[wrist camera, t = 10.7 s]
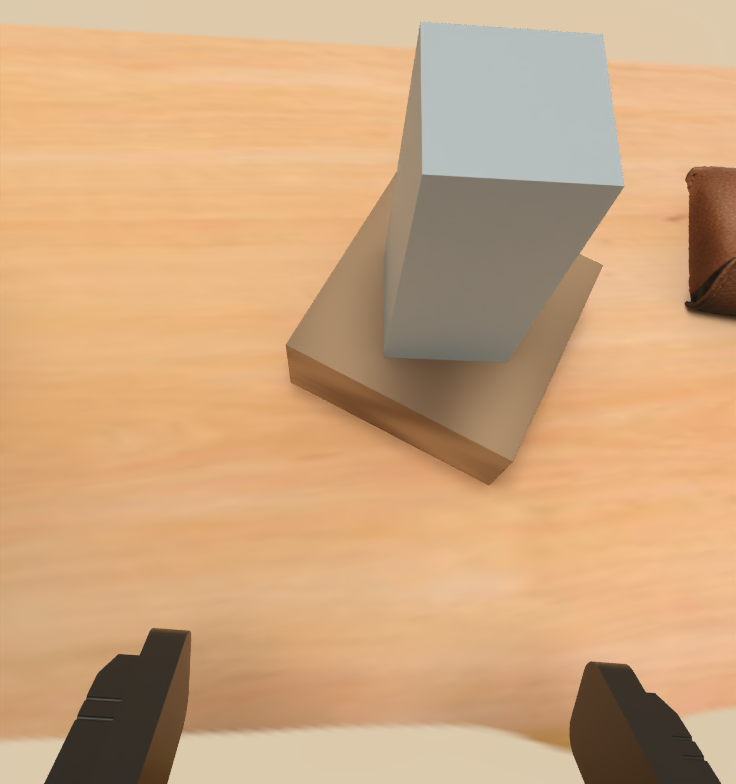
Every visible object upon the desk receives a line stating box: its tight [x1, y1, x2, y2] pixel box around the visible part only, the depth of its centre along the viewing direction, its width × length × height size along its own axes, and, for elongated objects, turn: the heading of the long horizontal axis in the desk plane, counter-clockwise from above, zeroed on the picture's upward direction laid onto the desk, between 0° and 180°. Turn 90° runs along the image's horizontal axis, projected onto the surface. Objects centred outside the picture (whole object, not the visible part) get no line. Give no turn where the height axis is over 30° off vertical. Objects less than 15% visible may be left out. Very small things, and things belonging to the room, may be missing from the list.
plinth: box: [286, 172, 603, 485], centre depth 26 cm, size 9×9×4 cm
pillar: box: [383, 22, 624, 362], centre depth 20 cm, size 4×4×10 cm
